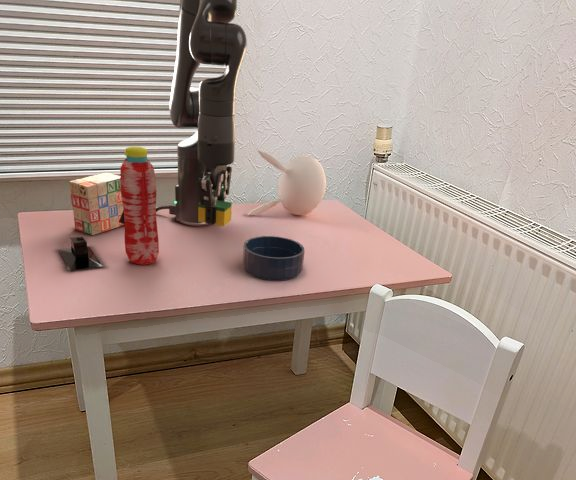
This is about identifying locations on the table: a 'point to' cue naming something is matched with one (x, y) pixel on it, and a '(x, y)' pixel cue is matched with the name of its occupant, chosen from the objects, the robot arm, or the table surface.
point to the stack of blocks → (97, 203)
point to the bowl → (273, 258)
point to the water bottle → (139, 207)
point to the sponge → (217, 213)
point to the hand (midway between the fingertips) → (214, 219)
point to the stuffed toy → (297, 185)
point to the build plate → (80, 255)
